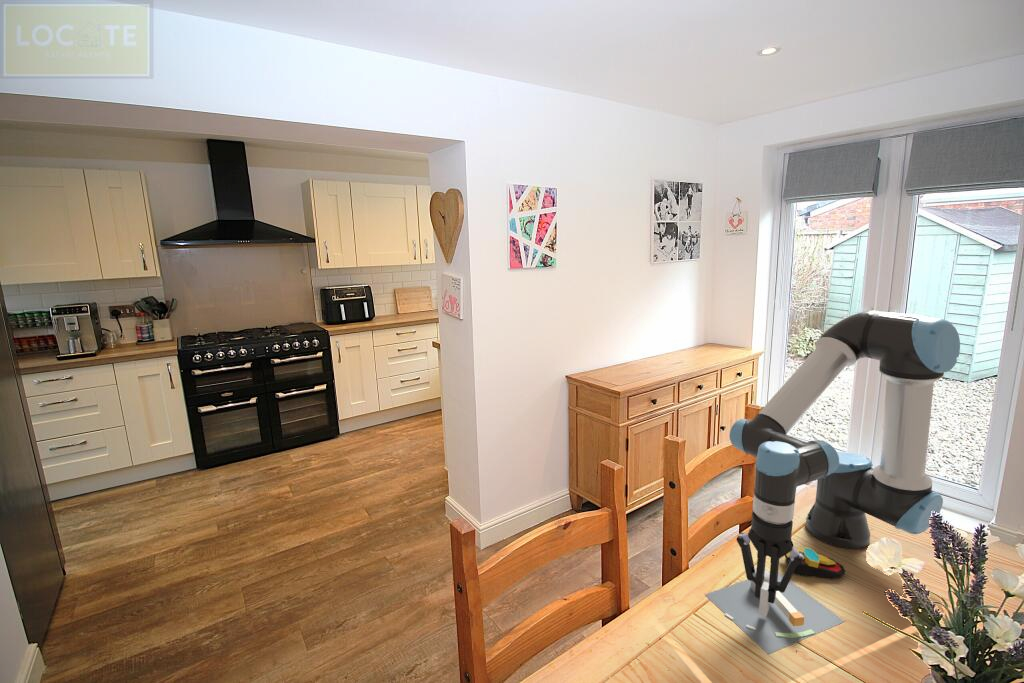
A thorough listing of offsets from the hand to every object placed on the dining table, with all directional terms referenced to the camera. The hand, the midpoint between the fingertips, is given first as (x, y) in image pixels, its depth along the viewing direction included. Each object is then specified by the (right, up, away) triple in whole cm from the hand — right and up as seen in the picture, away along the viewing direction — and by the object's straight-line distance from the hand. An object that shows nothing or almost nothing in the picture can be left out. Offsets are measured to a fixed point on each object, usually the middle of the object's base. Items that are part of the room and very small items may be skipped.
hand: (763, 611), depth 107 cm
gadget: (+20, +1, +15) cm, 25 cm away
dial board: (+4, -2, +3) cm, 5 cm away
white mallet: (+4, 0, +3) cm, 5 cm away
